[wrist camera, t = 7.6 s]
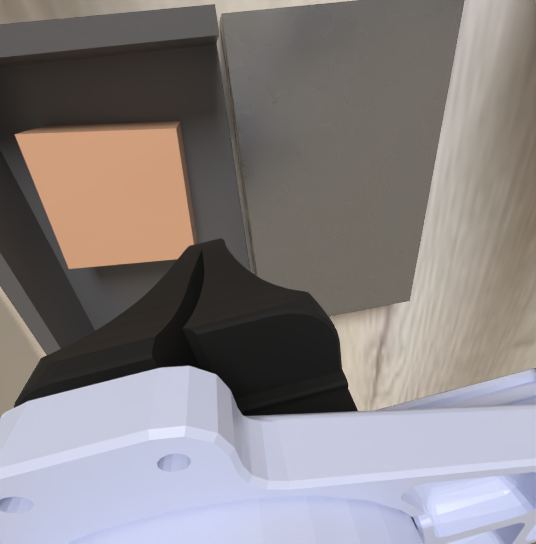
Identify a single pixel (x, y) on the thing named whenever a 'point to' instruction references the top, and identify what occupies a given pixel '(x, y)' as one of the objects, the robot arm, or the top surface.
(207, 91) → the box
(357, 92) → the grey flat board
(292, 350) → the robot arm
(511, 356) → the top surface
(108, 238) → the tile
